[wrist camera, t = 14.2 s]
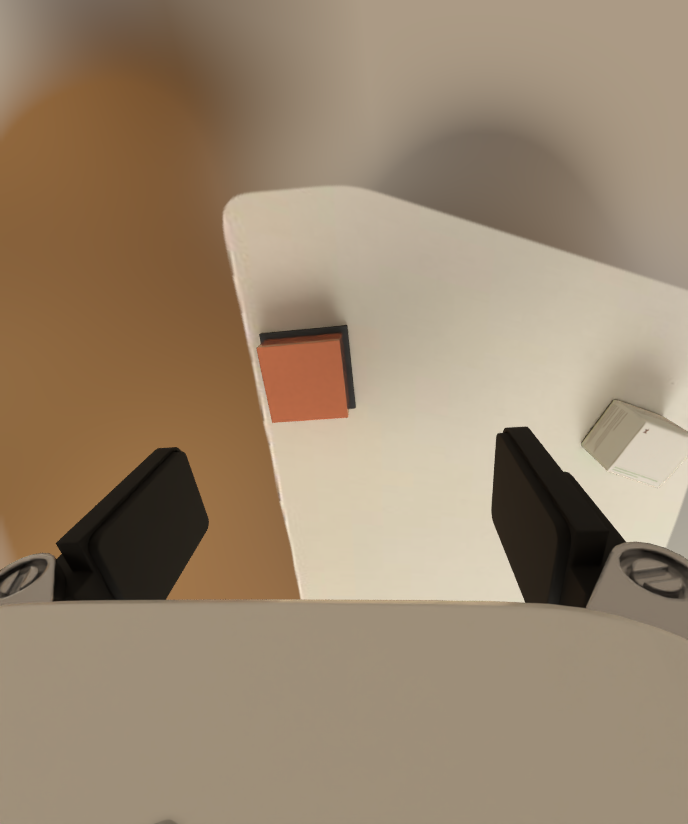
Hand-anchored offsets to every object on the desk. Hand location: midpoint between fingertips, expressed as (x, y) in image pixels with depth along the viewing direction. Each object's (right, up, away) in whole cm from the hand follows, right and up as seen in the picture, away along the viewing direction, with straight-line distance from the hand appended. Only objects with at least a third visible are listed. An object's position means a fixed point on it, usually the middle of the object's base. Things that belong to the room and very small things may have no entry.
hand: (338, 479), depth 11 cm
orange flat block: (-3, +6, +25) cm, 26 cm away
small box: (+28, 0, +26) cm, 38 cm away
